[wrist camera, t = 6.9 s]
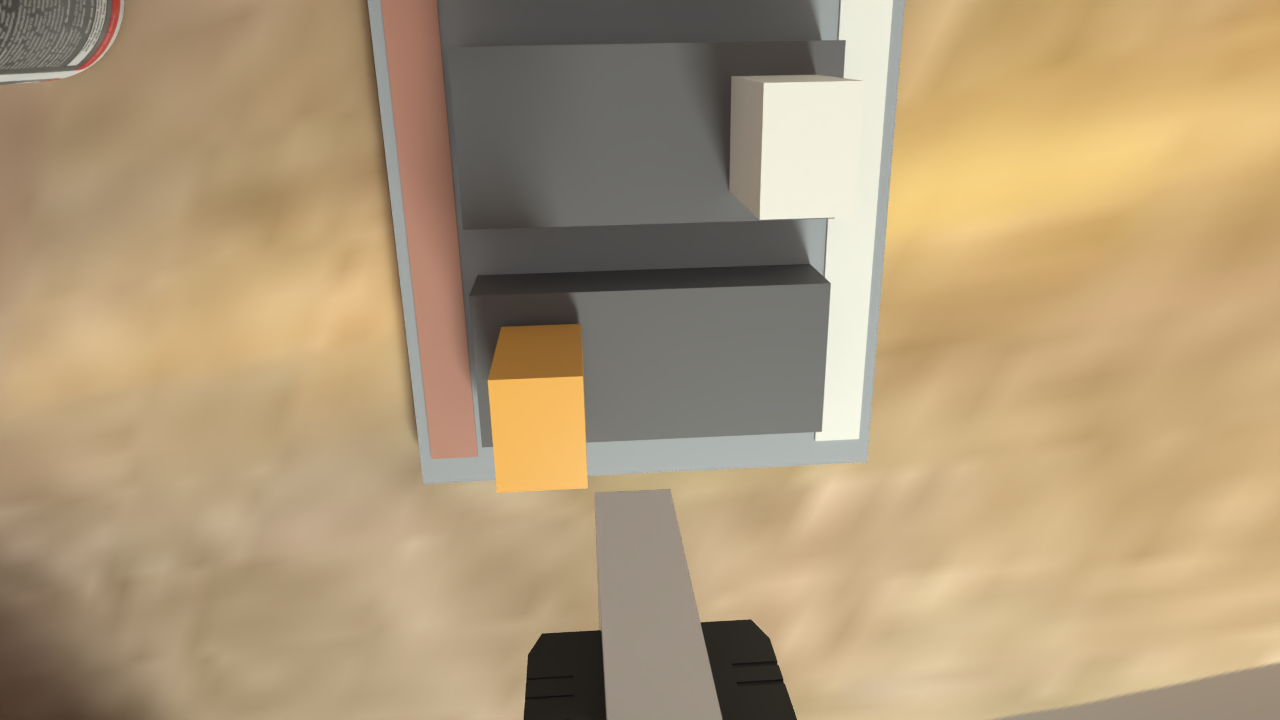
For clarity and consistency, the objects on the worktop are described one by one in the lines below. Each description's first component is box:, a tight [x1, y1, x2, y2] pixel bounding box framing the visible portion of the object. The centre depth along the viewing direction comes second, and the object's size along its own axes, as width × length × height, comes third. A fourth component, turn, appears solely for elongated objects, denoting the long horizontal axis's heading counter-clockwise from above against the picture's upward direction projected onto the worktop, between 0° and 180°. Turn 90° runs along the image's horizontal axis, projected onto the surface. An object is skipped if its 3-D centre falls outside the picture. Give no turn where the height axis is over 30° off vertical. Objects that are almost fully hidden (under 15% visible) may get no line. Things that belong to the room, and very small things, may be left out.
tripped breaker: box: [488, 324, 588, 493], centre depth 25 cm, size 2×3×4 cm
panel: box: [368, 0, 905, 484], centre depth 24 cm, size 16×24×8 cm, turn 1°
